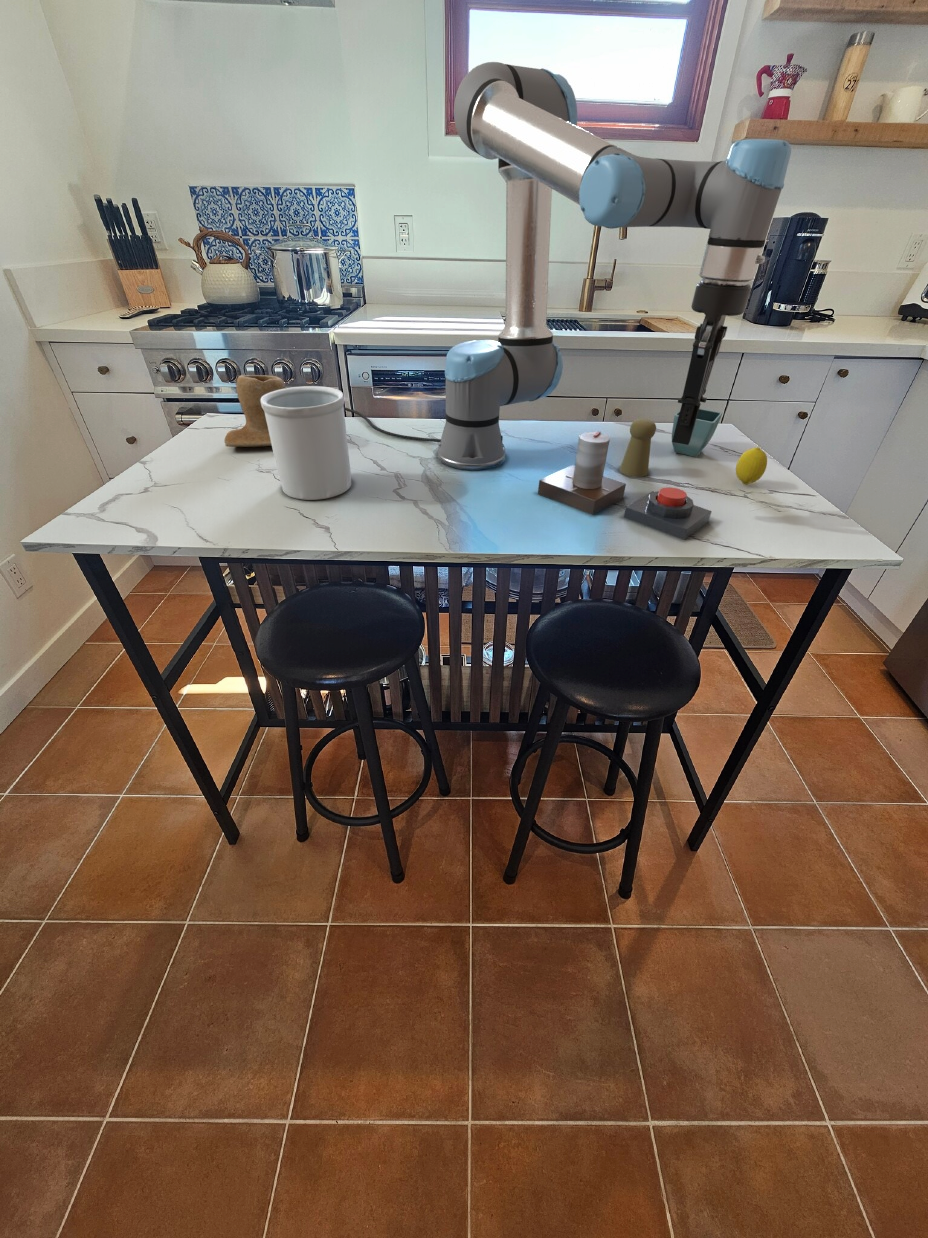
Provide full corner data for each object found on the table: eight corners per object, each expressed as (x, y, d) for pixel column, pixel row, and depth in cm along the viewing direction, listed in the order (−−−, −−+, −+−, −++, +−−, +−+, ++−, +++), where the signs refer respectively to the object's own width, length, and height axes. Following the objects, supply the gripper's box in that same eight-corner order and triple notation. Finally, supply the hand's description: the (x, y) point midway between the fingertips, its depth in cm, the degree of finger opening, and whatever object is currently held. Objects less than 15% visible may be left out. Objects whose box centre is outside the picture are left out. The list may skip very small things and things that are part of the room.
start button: (652, 501, 99) (654, 492, 98) (664, 493, 102) (667, 484, 101) (676, 510, 97) (679, 500, 96) (689, 501, 100) (691, 492, 99)
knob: (595, 491, 104) (604, 442, 98) (568, 484, 106) (575, 437, 100) (605, 481, 108) (614, 434, 102) (578, 475, 110) (585, 428, 104)
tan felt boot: (298, 433, 135) (287, 367, 126) (295, 450, 126) (283, 381, 117) (234, 435, 133) (218, 369, 124) (226, 453, 123) (208, 383, 114)
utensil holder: (263, 485, 110) (244, 395, 100) (325, 465, 119) (313, 380, 108) (306, 509, 102) (289, 413, 92) (368, 485, 111) (360, 396, 100)
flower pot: (711, 450, 131) (723, 412, 125) (702, 462, 125) (714, 422, 119) (674, 442, 134) (684, 405, 129) (664, 453, 128) (674, 414, 123)
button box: (623, 517, 102) (627, 497, 100) (650, 501, 108) (654, 482, 105) (683, 540, 96) (689, 519, 93) (708, 521, 101) (714, 501, 99)
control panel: (537, 494, 110) (539, 479, 108) (569, 478, 116) (571, 464, 114) (592, 515, 103) (595, 499, 101) (623, 497, 109) (626, 482, 107)
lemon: (759, 482, 116) (772, 445, 111) (758, 492, 112) (772, 454, 107) (731, 477, 118) (743, 440, 113) (729, 486, 114) (742, 449, 109)
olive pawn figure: (648, 478, 117) (661, 426, 110) (619, 475, 118) (630, 423, 111) (646, 467, 122) (658, 417, 115) (619, 464, 122) (629, 414, 116)
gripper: (747, 288, 73) (696, 459, 88) (757, 279, 82) (710, 434, 97) (689, 283, 76) (649, 449, 91) (706, 274, 85) (667, 426, 100)
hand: (680, 441), depth 94 cm, fingers closed
